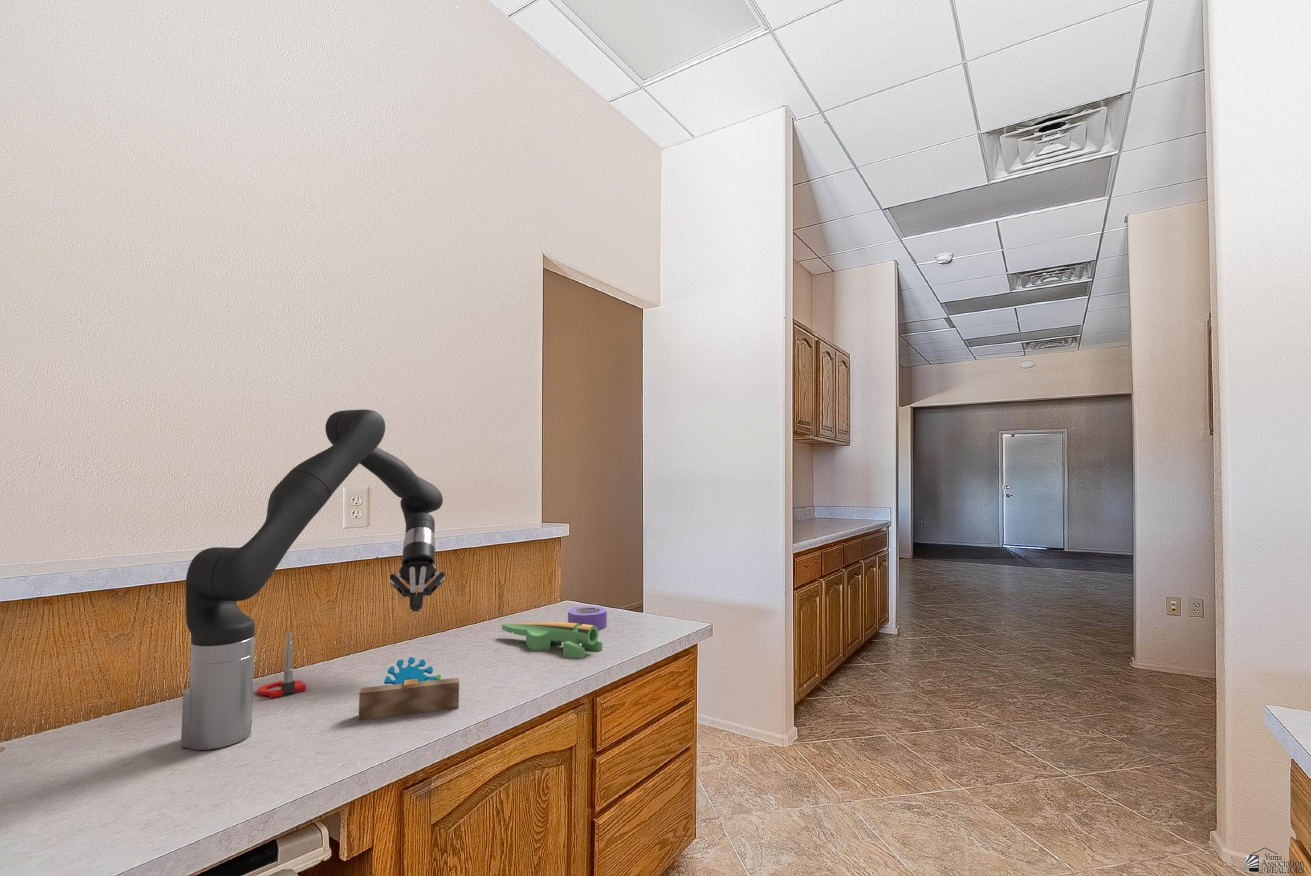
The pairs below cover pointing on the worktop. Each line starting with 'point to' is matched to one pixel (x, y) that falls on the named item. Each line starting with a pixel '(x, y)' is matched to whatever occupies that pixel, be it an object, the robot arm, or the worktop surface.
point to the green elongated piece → (558, 636)
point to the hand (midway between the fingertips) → (416, 609)
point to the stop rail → (408, 698)
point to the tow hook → (288, 684)
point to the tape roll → (588, 616)
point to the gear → (410, 672)
